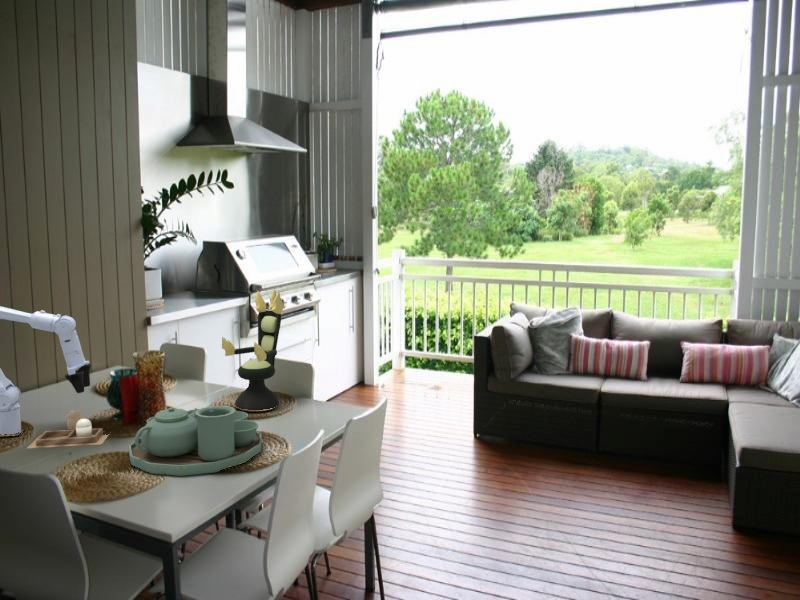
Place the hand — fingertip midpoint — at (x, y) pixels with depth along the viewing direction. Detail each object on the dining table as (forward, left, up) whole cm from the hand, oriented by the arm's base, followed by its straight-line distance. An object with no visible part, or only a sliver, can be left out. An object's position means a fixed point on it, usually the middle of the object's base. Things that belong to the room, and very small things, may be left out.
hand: (83, 389), depth 225 cm
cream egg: (+3, -13, -13) cm, 19 cm away
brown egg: (-4, 0, -14) cm, 14 cm away
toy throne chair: (+58, +18, -14) cm, 63 cm away
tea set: (+39, -30, -14) cm, 52 cm away
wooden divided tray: (-2, -13, -14) cm, 19 cm away
